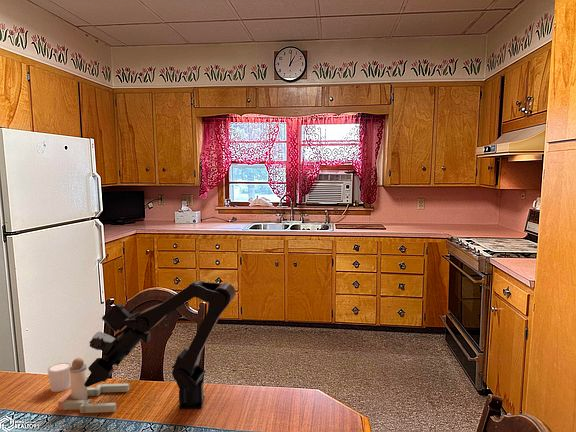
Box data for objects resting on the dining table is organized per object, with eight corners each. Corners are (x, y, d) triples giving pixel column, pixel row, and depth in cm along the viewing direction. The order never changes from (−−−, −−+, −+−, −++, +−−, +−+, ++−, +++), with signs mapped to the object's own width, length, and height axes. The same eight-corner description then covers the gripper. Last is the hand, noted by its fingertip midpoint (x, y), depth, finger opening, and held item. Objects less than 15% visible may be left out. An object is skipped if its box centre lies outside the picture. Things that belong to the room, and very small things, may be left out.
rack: (129, 389, 131) (129, 381, 131) (114, 411, 119) (114, 403, 118) (75, 390, 131) (75, 383, 130) (54, 413, 118) (54, 405, 117)
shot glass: (43, 389, 131) (42, 368, 131) (64, 380, 137) (63, 360, 137) (57, 394, 128) (55, 373, 128) (77, 385, 134) (76, 364, 134)
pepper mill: (90, 397, 127) (88, 355, 126) (83, 405, 122) (81, 361, 121) (75, 397, 127) (73, 355, 125) (68, 405, 122) (66, 362, 121)
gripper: (117, 314, 132) (85, 348, 132) (93, 336, 113) (55, 375, 114) (143, 336, 133) (111, 370, 133) (123, 361, 114) (86, 401, 115)
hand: (92, 378), depth 124 cm, fingers open, 9 cm apart
